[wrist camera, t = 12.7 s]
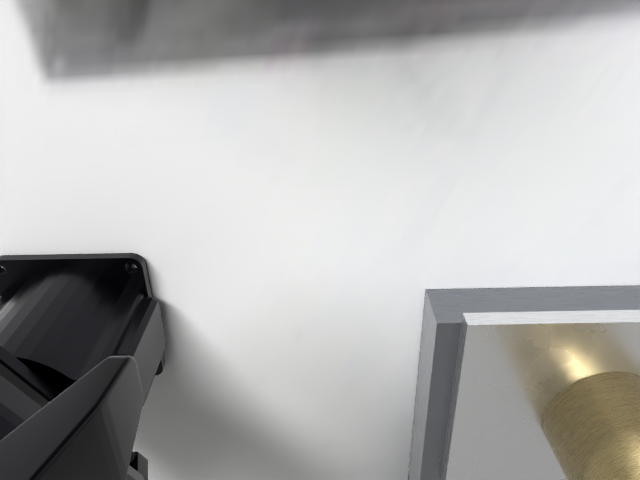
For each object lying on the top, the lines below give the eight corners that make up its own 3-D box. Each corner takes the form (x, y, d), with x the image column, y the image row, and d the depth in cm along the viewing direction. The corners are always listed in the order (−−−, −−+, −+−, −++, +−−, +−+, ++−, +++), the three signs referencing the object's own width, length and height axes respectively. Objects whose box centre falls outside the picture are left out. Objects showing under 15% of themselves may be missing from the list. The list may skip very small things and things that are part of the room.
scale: (405, 505, 31) (414, 561, 28) (426, 279, 24) (442, 325, 21) (663, 500, 31) (699, 556, 28) (763, 273, 24) (825, 318, 21)
